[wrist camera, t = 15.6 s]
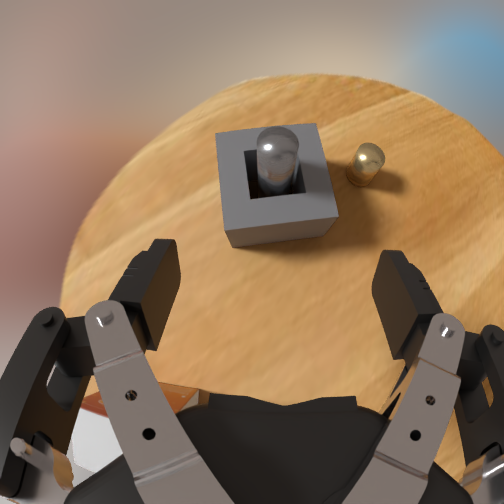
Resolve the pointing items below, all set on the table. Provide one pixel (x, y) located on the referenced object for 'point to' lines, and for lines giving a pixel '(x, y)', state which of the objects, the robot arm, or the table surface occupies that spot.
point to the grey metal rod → (276, 161)
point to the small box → (101, 432)
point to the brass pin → (365, 164)
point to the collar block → (278, 207)
